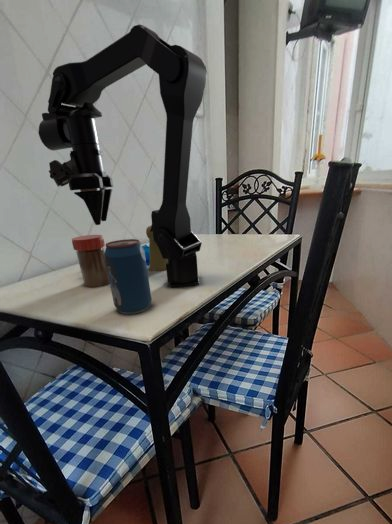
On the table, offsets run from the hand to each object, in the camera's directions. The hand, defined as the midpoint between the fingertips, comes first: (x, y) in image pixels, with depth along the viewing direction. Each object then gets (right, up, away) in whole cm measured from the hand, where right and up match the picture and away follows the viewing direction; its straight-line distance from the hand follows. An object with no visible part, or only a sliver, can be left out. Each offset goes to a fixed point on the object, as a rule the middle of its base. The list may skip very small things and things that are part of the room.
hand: (101, 222), depth 75 cm
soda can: (+11, -23, -16) cm, 30 cm away
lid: (-2, -5, -4) cm, 7 cm away
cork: (+13, -8, +11) cm, 19 cm away
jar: (-1, -14, +1) cm, 14 cm away
